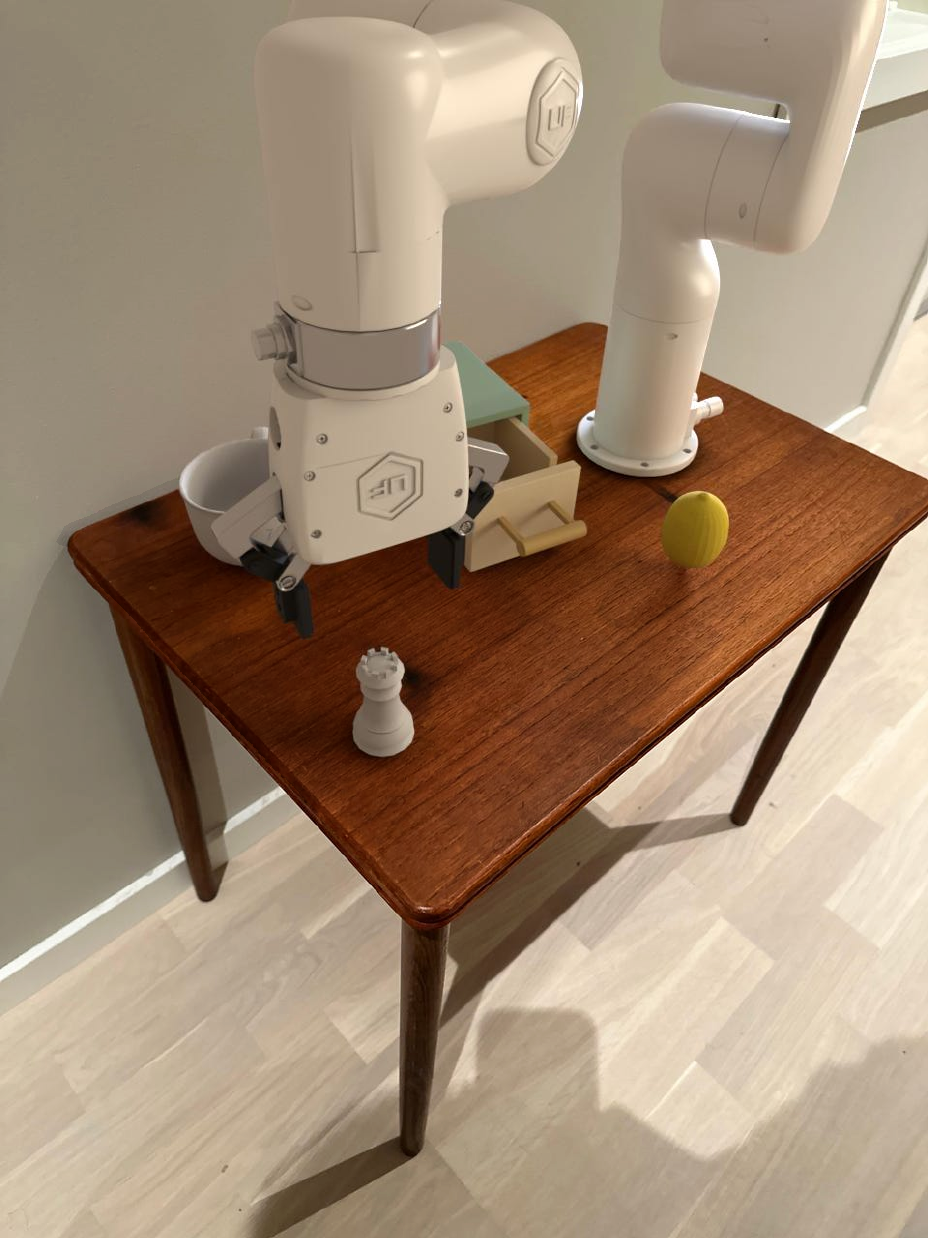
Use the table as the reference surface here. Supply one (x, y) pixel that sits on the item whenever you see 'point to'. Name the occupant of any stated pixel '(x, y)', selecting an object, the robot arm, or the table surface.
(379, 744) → the rook chess piece
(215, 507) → the teacup
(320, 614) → the table surface
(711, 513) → the lemon
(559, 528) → the drawer
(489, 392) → the cabinet
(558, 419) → the table surface
